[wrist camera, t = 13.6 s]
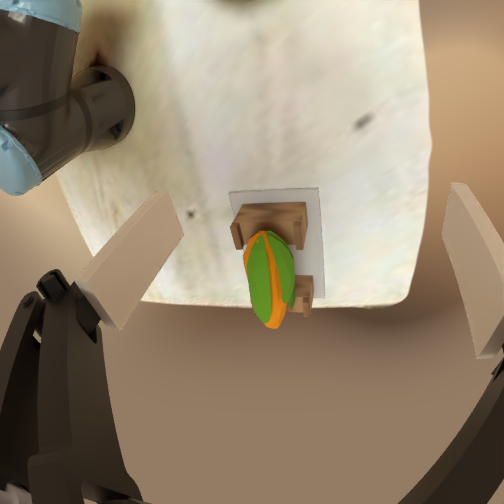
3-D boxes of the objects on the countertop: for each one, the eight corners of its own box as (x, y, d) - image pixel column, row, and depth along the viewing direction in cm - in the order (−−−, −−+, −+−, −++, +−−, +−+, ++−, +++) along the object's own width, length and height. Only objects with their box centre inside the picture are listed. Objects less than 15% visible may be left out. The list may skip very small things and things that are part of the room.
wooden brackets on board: (263, 286, 59) (254, 314, 54) (243, 202, 48) (229, 227, 42) (314, 288, 56) (309, 318, 51) (306, 199, 45) (300, 226, 39)
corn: (286, 256, 35) (291, 350, 47) (299, 220, 40) (301, 315, 52) (227, 249, 37) (248, 342, 49) (247, 216, 43) (262, 309, 55)
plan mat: (255, 293, 61) (255, 295, 61) (229, 191, 47) (228, 193, 47) (325, 296, 57) (324, 298, 56) (318, 187, 43) (317, 189, 42)
